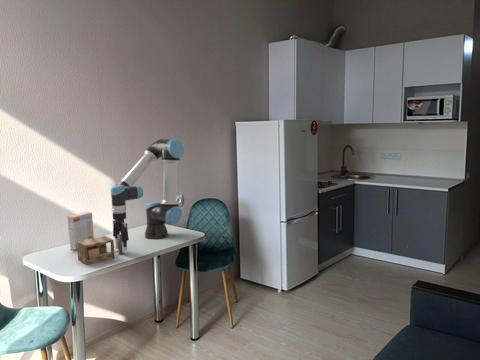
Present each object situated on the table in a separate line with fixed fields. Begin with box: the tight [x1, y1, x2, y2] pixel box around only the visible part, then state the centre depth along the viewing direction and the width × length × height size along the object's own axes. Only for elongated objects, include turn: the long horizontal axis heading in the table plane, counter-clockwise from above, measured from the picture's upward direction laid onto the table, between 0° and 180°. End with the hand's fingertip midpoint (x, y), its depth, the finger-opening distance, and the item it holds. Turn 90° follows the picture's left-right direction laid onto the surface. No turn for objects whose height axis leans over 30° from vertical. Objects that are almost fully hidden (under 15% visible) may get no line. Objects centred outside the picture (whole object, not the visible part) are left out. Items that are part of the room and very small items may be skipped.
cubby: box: [77, 235, 115, 266], centre depth 235 cm, size 16×11×11 cm
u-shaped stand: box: [87, 233, 126, 259], centre depth 239 cm, size 22×6×11 cm, turn 131°
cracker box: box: [66, 211, 95, 252], centre depth 258 cm, size 14×6×21 cm, turn 149°
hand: (121, 250), depth 245 cm, fingers open, 8 cm apart
